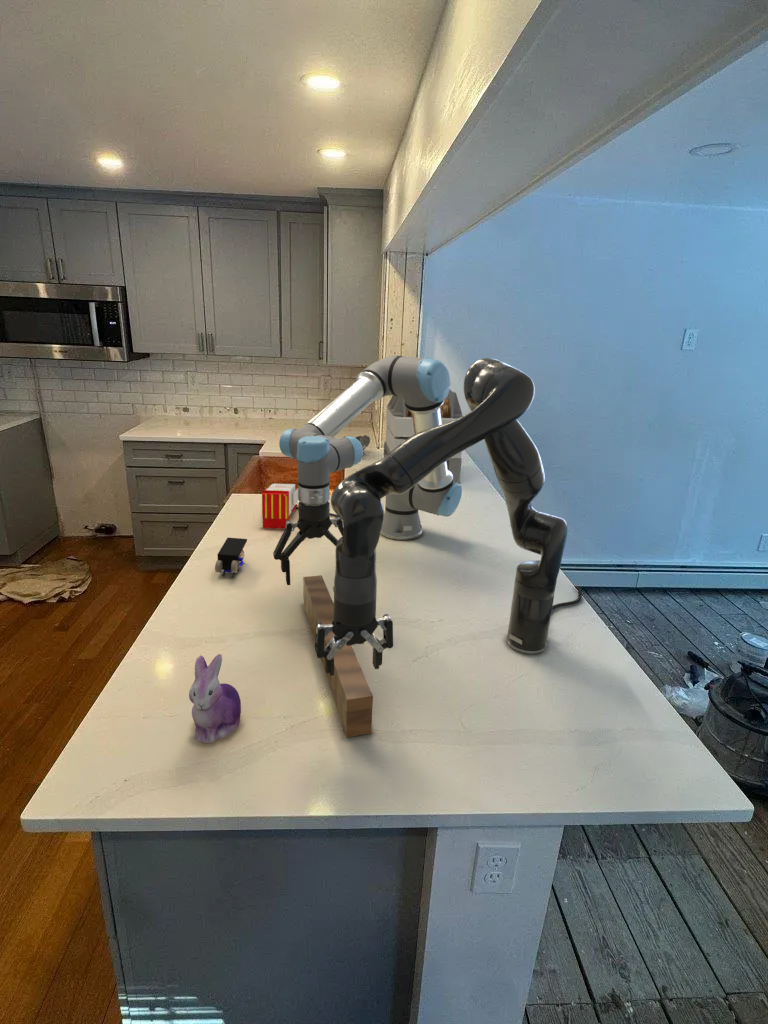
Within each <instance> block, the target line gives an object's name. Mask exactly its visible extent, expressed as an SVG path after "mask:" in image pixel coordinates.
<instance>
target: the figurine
mask: <svg viewBox="0 0 768 1024" xmlns="http://www.w3.org/2000/svg"><path fill="white" fill-rule="evenodd" d="M222 663H223V655H222V653H218V654H217V655H215V656H214V657H213V659H212V660H211V662H210V663H209V665H208V664H207V661H206V659H205V657H204V656H203V655H201V654H200V655H199V656H197V658H196V659H195V663H194V680H193V682H192V684H191V686H190V688H189V691H188V692H189V693H188V699H189V700H190V702H191V703H192V704H193V706H192V708H191V717H192V720H193V723H194V727H195V730H194V736H193V737H194V740H196V741H197V742H201V743H204V744H211V743H214V742H216V741H218V740H222V739H225V738H227V737H228V736H230V735H231V734H232V733H233V732H235V730H237V729H238V728H239V726H240V723H241V714H242V701H241V697H240V694H239V692H238V690H237V689H236V688H235V687H234V686H233V685H232V684H230V683H220V680H219V674H220V670H221V667H222Z"/></svg>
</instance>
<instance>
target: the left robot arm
mask: <svg viewBox="0 0 768 1024" xmlns="http://www.w3.org/2000/svg"><path fill="white" fill-rule="evenodd" d="M450 386H451V376H450V372H449V369H448V367H447V366H446V364H445V363H444V362H442V361H441V360H439V359H434V358H431V357H415V356H405V355H398V354H397V355H396V354H395V355H390V356H387V357H383V358H382V359H379V360H376V361H375V362H373V363H372V364H369V366H367V367H366V368H364V369H363V370H362V371H360V372H359V373H358V374H357V375H356V377H355V381H354V382H353V383H351V385H349V386H348V387H347V388H346V389H345V390H344V391H342V392H341V393H340V394H338V396H336V397H335V398H334V399H333V400H332V401H331V402H330V403H328V404H327V405H326V406H325V407H324V408H322V409H321V410H320V411H319V412H318V413H317V414H315V415H314V416H313V417H312V418H311V419H310V420H308V421H307V422H305V424H304V425H303V426H302V427H299V429H297V428H288V429H285V430H284V431H283V432H282V434H281V435H280V438H279V441H278V443H279V444H278V445H279V450H280V452H281V453H282V455H284V456H285V457H289V458H290V459H293V460H295V461H296V464H297V465H296V467H297V489H298V502H297V503H298V504H297V507H296V509H295V510H298V511H297V512H298V518H297V521H291V520H290V519H289V520H287V521H286V523H285V529H283V531H282V534H281V536H280V538H279V540H278V542H277V544H276V546H275V548H274V549H273V552H272V555H273V559H274V560H276V561H277V560H279V561H280V569H281V572H282V573H285V582H286V586H291V563H290V557H291V555H292V554H293V553H294V552H295V551H296V549H298V547H299V546H300V545H301V543H302V542H304V541H305V540H306V539H308V540H312V539H315V538H316V539H322V537H325V538H326V539H327V540H329V542H331V543H332V544H333V546H335V547H336V545H337V542H338V540H339V539H338V538H337V537H336V536H335V535H333V533H332V532H331V531H330V528H331V527H332V525H333V527H335V528H337V529H338V531H339V533H340V535H341V537H342V536H343V520H342V519H341V518H340V517H339V516H338V515H337V514H336V513H331V508H330V507H331V502H330V500H331V497H330V495H331V494H330V482H331V481H330V475H331V474H333V473H336V472H338V471H339V472H340V471H342V470H345V469H350V468H352V467H353V466H355V465H357V464H359V463H360V462H361V461H362V459H363V456H364V454H363V452H364V450H363V448H362V445H361V443H360V442H359V440H358V439H356V436H355V437H354V436H351V435H350V436H342V437H335V436H336V435H338V434H339V433H340V432H341V431H342V430H343V429H344V428H345V427H346V426H348V424H350V423H351V422H352V421H353V420H354V419H355V418H356V417H358V415H360V414H361V413H362V412H363V411H364V410H366V408H368V407H369V405H371V404H372V403H375V402H379V401H381V400H382V398H384V397H388V396H389V397H390V396H393V395H394V396H399V397H403V398H404V401H405V407H406V408H407V409H408V410H409V411H411V413H412V419H413V426H414V432H415V434H417V433H419V432H421V431H424V430H426V429H429V428H433V427H436V426H439V425H442V421H441V413H440V406H441V405H442V404H443V403H444V400H445V399H446V397H447V396H448V393H449V390H451V388H450ZM462 492H463V487H462V485H461V484H459V483H454V481H453V475H452V473H451V472H450V471H449V470H447V463H446V462H444V463H443V464H442V465H440V466H439V467H438V468H436V469H435V470H434V471H432V472H431V473H430V474H429V475H427V476H426V477H425V478H424V479H422V480H421V481H420V482H419V483H417V484H416V485H415V486H413V487H412V488H411V489H410V490H408V491H407V492H405V493H403V494H400V495H397V494H388V495H386V496H385V504H384V505H385V507H384V508H385V509H384V521H383V526H382V530H381V534H380V536H382V537H385V538H387V539H389V540H395V541H410V540H415V539H418V538H420V537H421V536H422V535H423V525H422V524H421V518H420V515H419V511H421V512H425V513H428V514H431V515H435V516H440V517H450V516H452V515H453V514H454V513H455V512H456V510H457V509H458V507H459V504H460V503H461V499H462V495H463V494H462ZM330 516H332V517H334V518H331V517H330ZM296 528H297V529H298V530H299V531H298V532H297V533H296V534H295V536H294V538H293V539H292V540H291V541H290V542H289V544H288V545H287V543H288V541H289V539H290V537H291V534H292V532H294V530H295V529H296ZM286 545H287V546H286Z"/></svg>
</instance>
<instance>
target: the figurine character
mask: <svg viewBox="0 0 768 1024" xmlns="http://www.w3.org/2000/svg"><path fill="white" fill-rule="evenodd" d="M247 542H248V538H240V537H226V539H225V541H224V543H223V544H222V546H221V547H220V549H219V551H218V552H217V560H216V562H215V564H214V572H215V573H221V577H222V578H224V577H225V576H226V574H227V573H230V574H231V573H232V574H231V578H234V577H235V575H236V573H237V572H239V571H240V567H242V566H243V565H244V564H245V562H244V558H245V551H244V547H245V546H246V544H247Z"/></svg>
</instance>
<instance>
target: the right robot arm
mask: <svg viewBox="0 0 768 1024" xmlns="http://www.w3.org/2000/svg"><path fill="white" fill-rule="evenodd" d="M535 391H536V387H535V384H534V381H533V379H532V378H531V377H530V376H529V375H528V374H526V373H525V372H524V371H522V370H520V369H519V368H516V367H515V366H512V365H510V364H508V363H506V362H503V361H501V360H499V359H496V358H491V357H490V358H489V357H486V358H485V357H484V358H480V359H478V360H476V361H474V362H473V363H471V365H470V366H469V368H468V370H467V371H466V373H465V376H464V379H463V395H464V399H465V401H466V404H467V405H468V409H469V410H470V411H469V412H467V413H466V414H464V415H462V417H460V418H458V419H455V420H453V421H451V422H448V423H445V424H442V425H439V426H436V427H433V428H429V429H426V430H424V431H421V432H419V433H417V434H415V435H413V436H411V437H409V438H408V439H406V440H405V441H403V442H402V443H401V444H400V445H398V446H397V447H396V448H394V449H393V450H392V451H391V452H389V453H388V454H387V455H386V456H384V455H383V457H382V458H380V460H378V461H376V462H374V463H371V464H369V465H366V466H364V467H363V468H361V469H359V470H357V471H355V472H353V473H352V474H350V475H348V476H347V477H345V478H344V479H342V480H341V481H340V482H339V483H338V484H337V485H336V486H335V488H334V490H333V492H332V494H331V497H330V506H331V508H332V509H333V512H334V514H336V515H338V516H339V517H340V518H341V519H342V521H343V536H342V535H341V537H340V538H339V539H337V540H338V542H337V545H336V546H335V554H334V555H335V565H334V567H335V569H334V577H333V587H332V592H333V603H334V619H333V622H332V624H325V625H323V624H322V623H321V622H318V623H316V631H315V640H314V647H313V648H314V651H315V655H316V657H317V658H318V659H320V658H322V657H324V658H325V669H326V672H327V673H329V674H330V676H333V675H334V656H335V655H336V653H337V652H338V651H341V649H342V648H343V647H344V646H345V644H346V645H347V646H350V645H352V646H353V645H363V644H364V643H366V642H368V644H369V645H371V647H372V666H373V668H374V669H375V670H379V669H380V666H382V665H383V653H384V651H385V650H386V649H392V648H394V623H393V620H392V618H391V616H390V615H389V614H388V613H385V614H383V615H382V616H381V617H377V592H378V591H377V589H378V587H377V586H378V580H377V547H378V544H379V542H380V538H381V530H382V526H383V521H384V513H385V509H384V504H383V501H382V498H385V497H386V495H388V494H397V495H400V494H403V493H405V492H407V491H408V490H410V489H411V488H412V487H413V486H415V485H416V484H417V483H419V482H420V481H421V480H422V479H424V478H425V477H426V476H427V475H429V474H430V473H431V472H432V471H434V470H435V469H436V468H438V467H439V466H440V465H442V464H443V463H444V462H446V461H447V460H449V459H450V458H452V457H454V456H455V455H457V454H459V453H460V452H462V453H463V452H464V451H466V450H467V449H469V448H471V447H473V446H474V445H477V444H478V443H480V442H481V441H484V444H485V446H486V449H487V452H488V455H489V458H490V460H491V464H492V467H493V471H494V474H495V477H496V479H497V482H498V486H499V487H500V490H501V493H502V495H503V499H504V502H505V506H506V508H507V513H508V517H509V524H510V528H511V534H512V537H513V540H514V542H515V545H516V546H518V547H519V548H521V549H522V550H525V551H527V552H530V553H534V554H537V555H540V556H541V557H540V560H526V561H523V562H522V561H521V562H520V563H518V565H517V566H516V571H515V576H514V585H513V591H512V599H511V607H510V614H509V620H508V628H507V629H508V630H507V635H506V640H505V641H506V644H507V645H508V647H510V648H511V649H512V650H514V651H516V652H519V653H521V654H526V655H538V654H542V653H544V652H545V651H546V650H547V641H548V635H549V630H550V624H551V619H552V612H554V611H555V610H556V609H558V608H561V607H568V606H572V605H573V606H574V605H577V604H579V603H580V602H581V601H582V599H583V592H582V588H581V586H580V585H576V586H575V589H576V590H577V593H578V596H577V598H576V599H575V600H570V601H565V602H560V603H556V604H554V599H555V593H556V588H557V587H556V586H557V580H558V576H559V574H560V573H559V572H560V569H561V565H562V559H563V556H564V551H565V547H566V541H567V538H568V523H567V521H566V520H565V519H564V518H562V517H560V516H556V515H552V514H549V513H545V512H543V511H539V510H536V509H535V508H534V506H533V505H532V502H533V501H534V500H535V499H536V498H537V496H538V495H539V494H540V492H541V491H542V489H543V487H544V485H545V481H546V478H545V477H546V476H545V475H546V474H545V469H544V466H543V461H542V458H541V455H540V452H539V449H538V448H537V446H536V444H535V443H534V441H533V440H532V438H531V436H530V435H529V434H528V433H527V431H526V429H525V428H524V427H523V425H522V424H521V422H519V418H521V417H523V415H524V414H525V413H526V412H527V411H528V409H529V408H530V407H531V405H532V402H533V400H534V398H535V394H536V393H535ZM378 626H380V629H381V630H382V638H381V639H379V638H378V637H377V636H376V635H375V633H374V632H375V631H376V630H377V628H378ZM331 631H332V632H333V633H334V635H333V636H332V637H331V640H330V642H329V643H328V645H327V646H326V647H324V639H325V638H326V637H327V636H328V634H329V632H331Z"/></svg>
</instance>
